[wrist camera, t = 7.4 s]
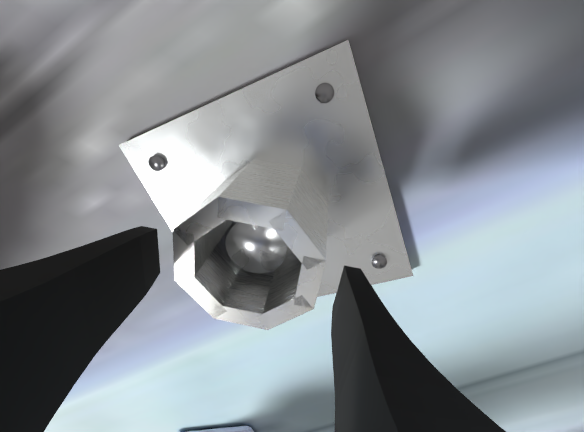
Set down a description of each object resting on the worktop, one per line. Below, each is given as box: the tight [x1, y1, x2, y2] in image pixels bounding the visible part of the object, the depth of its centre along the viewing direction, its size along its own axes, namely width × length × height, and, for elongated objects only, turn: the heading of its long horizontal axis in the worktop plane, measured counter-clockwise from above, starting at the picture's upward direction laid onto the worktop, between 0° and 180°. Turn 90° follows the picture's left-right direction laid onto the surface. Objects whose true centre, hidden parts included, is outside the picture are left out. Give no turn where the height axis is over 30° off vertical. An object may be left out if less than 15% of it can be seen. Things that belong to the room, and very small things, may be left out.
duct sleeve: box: [173, 159, 328, 330], centre depth 13 cm, size 6×6×5 cm
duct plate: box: [119, 40, 413, 297], centre depth 14 cm, size 12×12×4 cm
